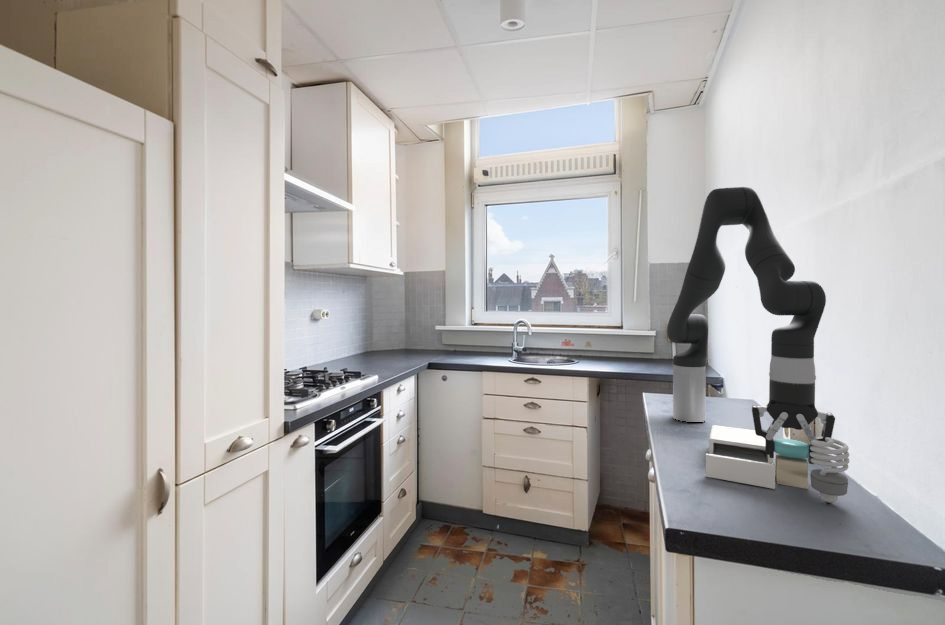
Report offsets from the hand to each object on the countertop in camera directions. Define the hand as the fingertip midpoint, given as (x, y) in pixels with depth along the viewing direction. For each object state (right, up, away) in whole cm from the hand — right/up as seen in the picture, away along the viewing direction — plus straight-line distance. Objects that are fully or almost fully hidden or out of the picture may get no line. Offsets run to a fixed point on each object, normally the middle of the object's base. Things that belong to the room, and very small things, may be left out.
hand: (790, 459), depth 89 cm
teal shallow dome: (0, +1, 0) cm, 1 cm away
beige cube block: (0, -5, 0) cm, 5 cm away
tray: (-8, -4, +5) cm, 10 cm away
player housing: (-2, -4, +14) cm, 14 cm away
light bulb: (0, -5, -10) cm, 11 cm away
